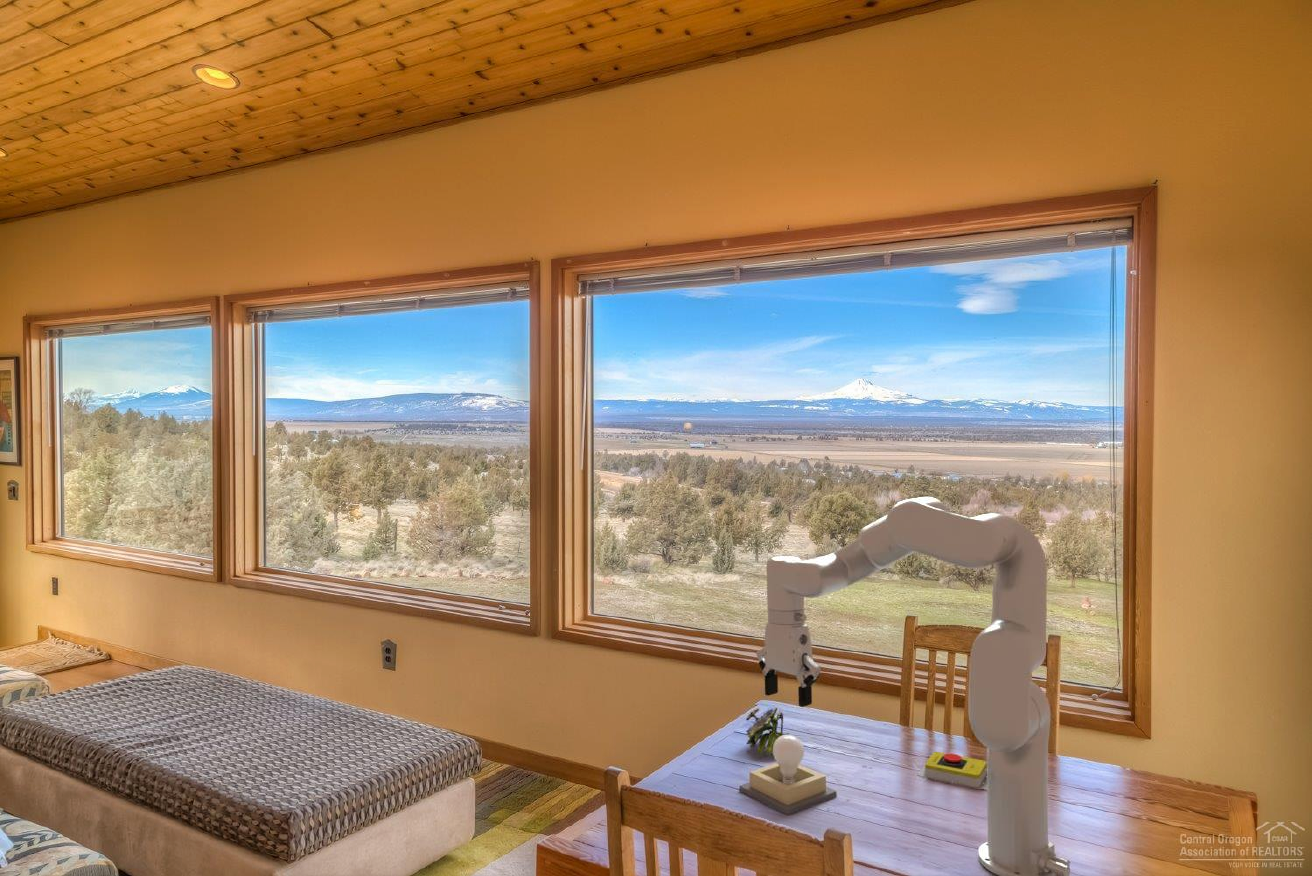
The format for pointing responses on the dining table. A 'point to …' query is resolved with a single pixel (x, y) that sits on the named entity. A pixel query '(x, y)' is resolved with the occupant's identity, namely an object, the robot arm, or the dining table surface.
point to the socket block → (787, 788)
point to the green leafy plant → (761, 726)
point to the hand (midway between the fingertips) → (788, 699)
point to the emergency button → (956, 770)
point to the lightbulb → (788, 756)
